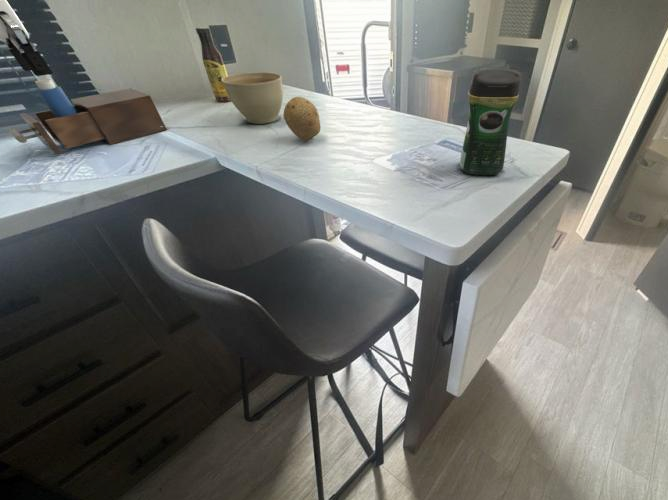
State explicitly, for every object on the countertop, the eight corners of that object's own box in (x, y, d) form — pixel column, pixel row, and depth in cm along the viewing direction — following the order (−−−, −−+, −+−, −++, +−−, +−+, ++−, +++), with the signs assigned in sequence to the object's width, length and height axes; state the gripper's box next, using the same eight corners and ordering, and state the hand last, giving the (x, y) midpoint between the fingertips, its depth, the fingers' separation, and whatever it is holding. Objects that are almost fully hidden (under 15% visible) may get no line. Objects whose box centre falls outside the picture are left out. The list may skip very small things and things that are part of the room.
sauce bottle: (212, 101, 111) (184, 27, 96) (223, 97, 115) (198, 25, 101) (229, 103, 110) (203, 28, 95) (239, 98, 114) (216, 26, 100)
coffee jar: (499, 162, 74) (520, 65, 60) (503, 177, 68) (528, 74, 55) (458, 161, 74) (470, 64, 61) (459, 175, 69) (472, 73, 55)
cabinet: (110, 144, 83) (87, 107, 77) (93, 134, 88) (70, 99, 82) (167, 129, 91) (149, 95, 85) (148, 121, 96) (130, 88, 90)
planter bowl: (290, 126, 92) (280, 82, 85) (232, 130, 90) (216, 85, 82) (290, 110, 103) (281, 70, 96) (239, 113, 101) (225, 72, 93)
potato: (292, 134, 88) (282, 92, 80) (324, 133, 88) (317, 91, 81) (287, 146, 81) (276, 102, 74) (322, 145, 82) (314, 101, 75)
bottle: (73, 139, 80) (33, 83, 71) (67, 135, 82) (27, 81, 73) (93, 134, 82) (57, 80, 74) (87, 131, 84) (51, 77, 76)
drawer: (33, 159, 74) (7, 128, 69) (21, 148, 79) (-4, 118, 74) (117, 138, 84) (99, 109, 79) (101, 129, 89) (83, 101, 84)
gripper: (-71, -35, 62) (9, 70, 74) (-59, -38, 54) (28, 80, 67) (-20, -35, 66) (47, 65, 78) (-3, -38, 58) (69, 73, 71)
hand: (38, 72), depth 72 cm, fingers open, 9 cm apart
